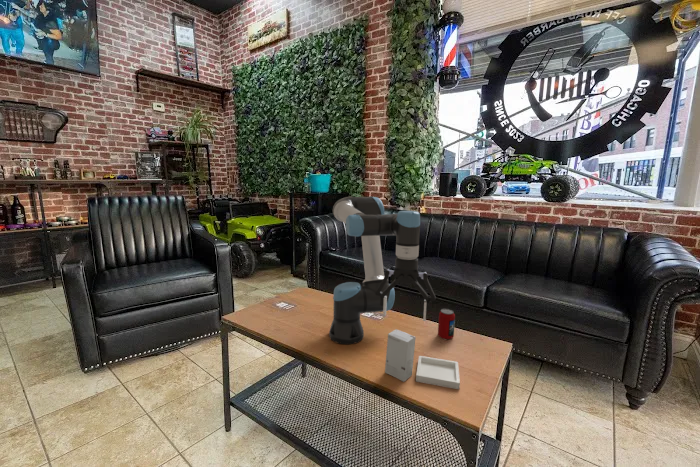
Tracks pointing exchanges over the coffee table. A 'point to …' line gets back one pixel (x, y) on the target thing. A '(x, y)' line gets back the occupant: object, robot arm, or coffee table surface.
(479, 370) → the coffee table surface
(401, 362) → the skincare box
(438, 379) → the tray
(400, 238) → the robot arm
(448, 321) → the beverage can
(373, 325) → the coffee table surface
